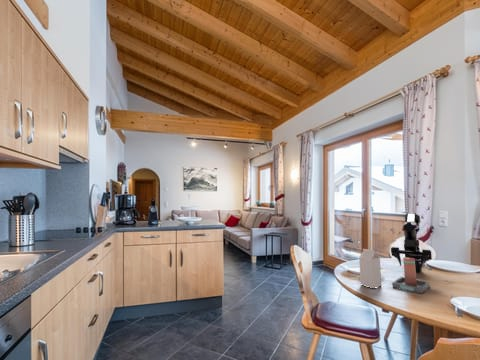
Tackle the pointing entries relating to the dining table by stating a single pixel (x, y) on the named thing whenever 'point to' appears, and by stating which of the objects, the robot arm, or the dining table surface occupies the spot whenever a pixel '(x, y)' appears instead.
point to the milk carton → (370, 268)
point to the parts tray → (420, 288)
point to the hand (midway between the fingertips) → (410, 266)
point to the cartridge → (410, 271)
